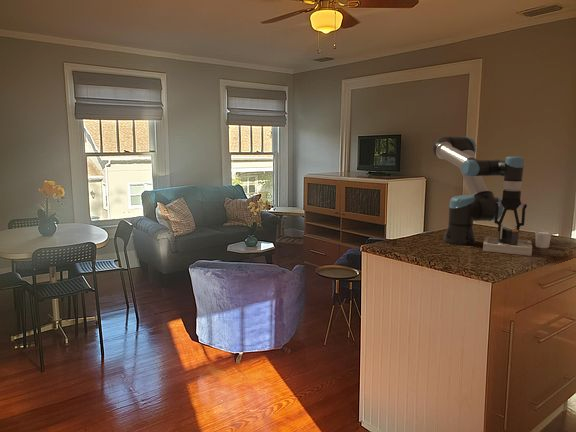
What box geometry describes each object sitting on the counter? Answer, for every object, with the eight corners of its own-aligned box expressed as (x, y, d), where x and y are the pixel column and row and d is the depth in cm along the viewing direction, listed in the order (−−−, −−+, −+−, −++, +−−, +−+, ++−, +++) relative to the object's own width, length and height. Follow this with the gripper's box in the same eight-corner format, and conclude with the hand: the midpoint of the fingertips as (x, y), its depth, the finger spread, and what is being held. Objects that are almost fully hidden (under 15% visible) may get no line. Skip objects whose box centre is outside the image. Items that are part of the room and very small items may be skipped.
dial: (488, 241, 217) (490, 225, 216) (512, 241, 218) (514, 225, 217) (502, 247, 205) (503, 230, 204) (527, 247, 206) (528, 229, 205)
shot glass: (542, 248, 214) (543, 234, 212) (530, 245, 220) (532, 231, 219) (553, 248, 215) (555, 233, 214) (542, 244, 222) (543, 231, 221)
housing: (482, 250, 209) (483, 242, 208) (485, 243, 225) (486, 235, 224) (531, 255, 200) (532, 247, 199) (530, 247, 216) (531, 239, 215)
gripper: (490, 189, 208) (486, 238, 212) (534, 192, 200) (529, 242, 204) (490, 188, 215) (487, 235, 219) (534, 190, 207) (529, 239, 211)
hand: (507, 239), depth 212 cm, fingers closed on dial, 5 cm apart
